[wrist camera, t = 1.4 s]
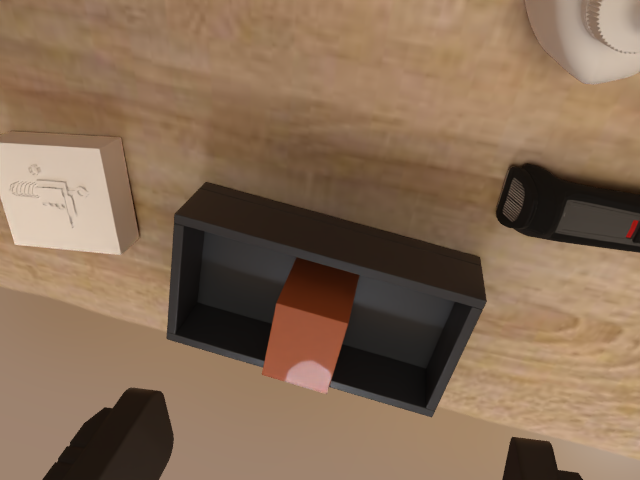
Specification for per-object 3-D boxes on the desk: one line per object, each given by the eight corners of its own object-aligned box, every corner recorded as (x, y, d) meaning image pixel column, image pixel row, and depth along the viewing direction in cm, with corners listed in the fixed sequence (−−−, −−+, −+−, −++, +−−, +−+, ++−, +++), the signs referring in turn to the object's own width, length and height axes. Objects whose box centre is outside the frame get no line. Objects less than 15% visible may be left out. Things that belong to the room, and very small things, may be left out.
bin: (432, 366, 36) (432, 417, 32) (194, 297, 37) (166, 339, 33) (480, 257, 31) (487, 301, 27) (205, 181, 32) (174, 213, 28)
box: (-123, -119, 27) (-183, -128, 25) (72, -126, 25) (30, -137, 23) (-10, 224, 37) (-46, 244, 34) (139, 238, 35) (114, 260, 32)
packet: (340, 339, 35) (327, 394, 30) (282, 322, 35) (261, 375, 31) (359, 273, 32) (348, 323, 27) (297, 255, 32) (276, 303, 28)
